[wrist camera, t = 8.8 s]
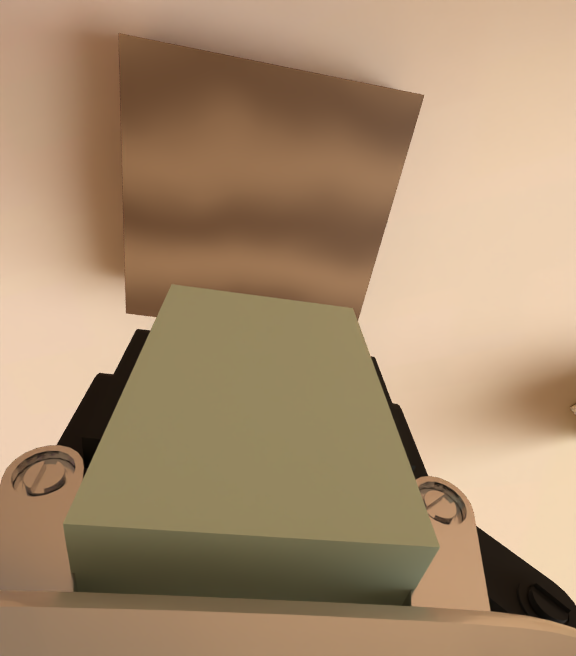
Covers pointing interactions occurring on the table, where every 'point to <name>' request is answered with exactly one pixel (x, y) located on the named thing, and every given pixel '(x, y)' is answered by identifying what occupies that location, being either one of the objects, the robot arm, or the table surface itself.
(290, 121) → the walnut base
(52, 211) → the table surface
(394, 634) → the robot arm
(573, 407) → the small box
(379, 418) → the sage block
